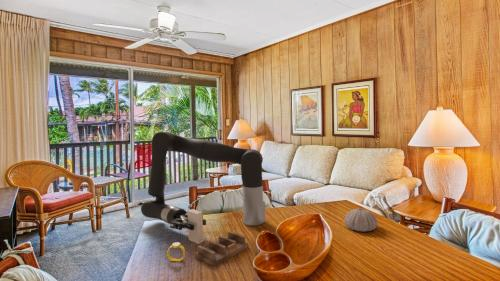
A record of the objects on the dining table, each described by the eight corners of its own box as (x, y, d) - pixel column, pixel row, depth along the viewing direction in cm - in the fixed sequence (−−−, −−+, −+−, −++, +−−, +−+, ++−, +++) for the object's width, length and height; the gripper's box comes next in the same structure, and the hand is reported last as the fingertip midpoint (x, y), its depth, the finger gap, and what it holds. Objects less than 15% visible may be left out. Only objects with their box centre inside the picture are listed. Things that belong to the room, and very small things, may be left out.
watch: (166, 263, 93) (165, 246, 92) (168, 258, 96) (168, 242, 95) (184, 262, 93) (183, 245, 92) (186, 258, 96) (185, 241, 95)
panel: (188, 239, 110) (187, 210, 109) (193, 237, 112) (192, 208, 111) (198, 244, 106) (197, 213, 105) (203, 241, 108) (202, 211, 107)
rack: (195, 257, 96) (194, 246, 96) (229, 239, 109) (228, 230, 109) (214, 266, 90) (214, 255, 89) (248, 247, 103) (248, 236, 102)
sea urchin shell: (343, 231, 114) (343, 212, 114) (345, 220, 127) (345, 203, 126) (378, 236, 109) (378, 216, 109) (376, 223, 122) (377, 206, 121)
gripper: (158, 211, 112) (183, 221, 101) (187, 202, 123) (213, 210, 112) (159, 229, 113) (184, 241, 102) (188, 219, 123) (213, 228, 113)
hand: (199, 225), depth 107 cm, fingers open, 5 cm apart
